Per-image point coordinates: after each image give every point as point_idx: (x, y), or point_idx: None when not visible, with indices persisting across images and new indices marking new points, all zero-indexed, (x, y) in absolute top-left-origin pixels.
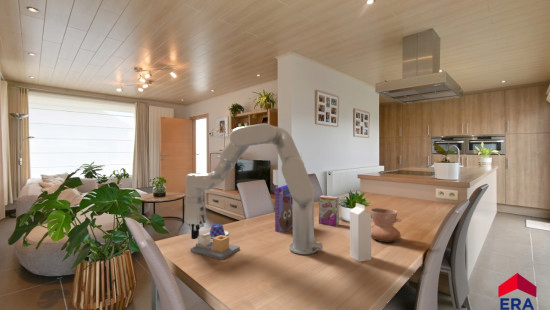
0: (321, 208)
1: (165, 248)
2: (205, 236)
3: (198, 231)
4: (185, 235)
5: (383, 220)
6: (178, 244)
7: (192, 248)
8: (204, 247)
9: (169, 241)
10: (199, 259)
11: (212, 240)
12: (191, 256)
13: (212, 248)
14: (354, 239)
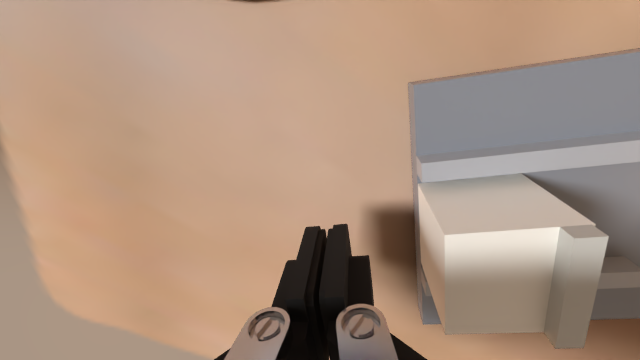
0: None
1: (221, 354)
2: (582, 311)
3: (371, 300)
4: (18, 121)
5: None
6: (212, 278)
7: (438, 319)
8: None
9: (100, 278)
10: (605, 356)
11: (455, 82)
12: (504, 352)
13: (633, 236)
14: None
